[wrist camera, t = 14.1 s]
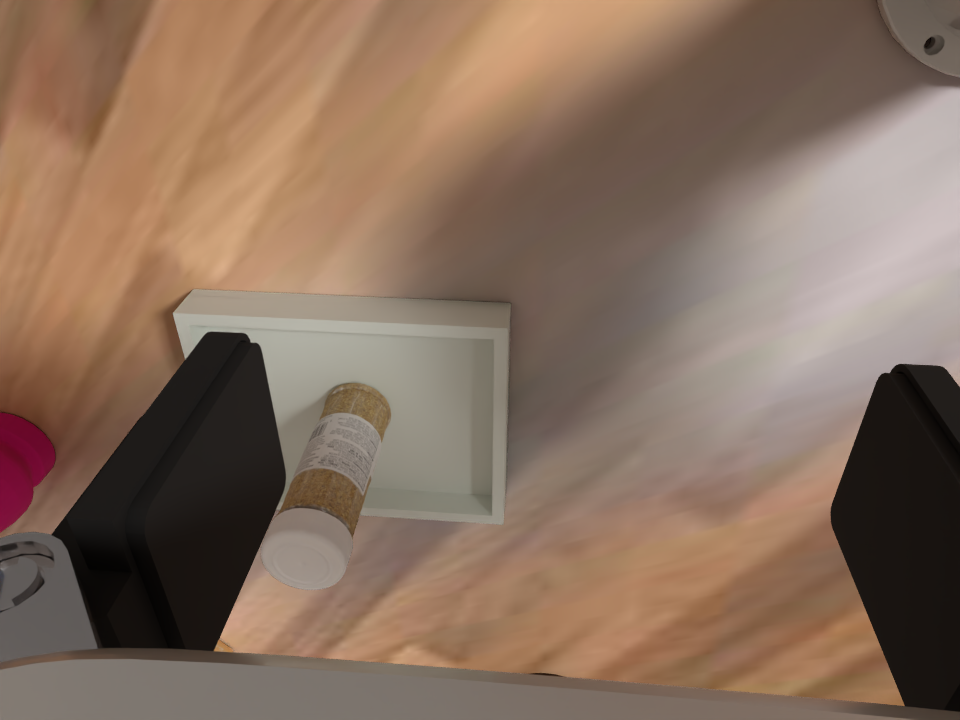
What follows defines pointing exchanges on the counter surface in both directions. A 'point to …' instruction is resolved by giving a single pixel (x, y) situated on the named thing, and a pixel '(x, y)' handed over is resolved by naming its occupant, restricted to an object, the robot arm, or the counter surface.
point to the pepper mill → (21, 465)
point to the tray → (385, 387)
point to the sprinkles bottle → (328, 491)
